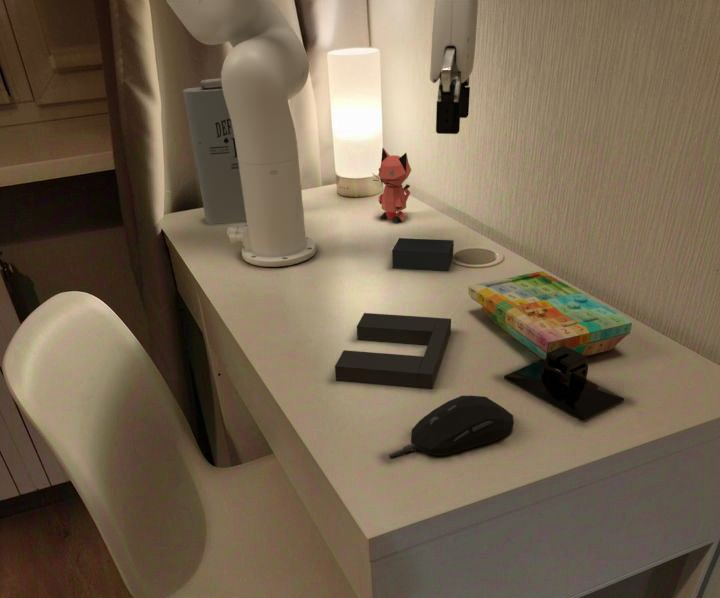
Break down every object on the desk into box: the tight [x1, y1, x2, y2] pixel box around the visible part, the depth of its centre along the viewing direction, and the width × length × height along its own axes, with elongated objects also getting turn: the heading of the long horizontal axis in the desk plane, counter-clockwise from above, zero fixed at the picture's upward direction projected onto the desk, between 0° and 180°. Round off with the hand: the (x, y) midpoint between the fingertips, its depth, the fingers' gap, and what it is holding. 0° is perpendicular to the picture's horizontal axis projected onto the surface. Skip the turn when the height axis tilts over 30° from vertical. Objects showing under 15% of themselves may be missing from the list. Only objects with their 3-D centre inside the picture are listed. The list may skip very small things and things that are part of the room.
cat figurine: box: [372, 147, 412, 224], centre depth 131 cm, size 7×7×12 cm
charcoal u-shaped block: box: [334, 312, 452, 389], centre depth 93 cm, size 15×12×2 cm
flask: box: [182, 71, 247, 225], centre depth 132 cm, size 17×5×25 cm, turn 103°
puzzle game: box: [468, 270, 633, 360], centre depth 95 cm, size 12×5×20 cm
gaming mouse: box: [388, 395, 515, 459], centre depth 77 cm, size 6×15×4 cm, turn 116°
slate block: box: [391, 237, 455, 272], centre depth 116 cm, size 6×9×3 cm, turn 76°
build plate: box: [503, 346, 625, 423], centre depth 84 cm, size 12×7×5 cm, turn 35°
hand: (452, 124), depth 104 cm, fingers open, 9 cm apart
